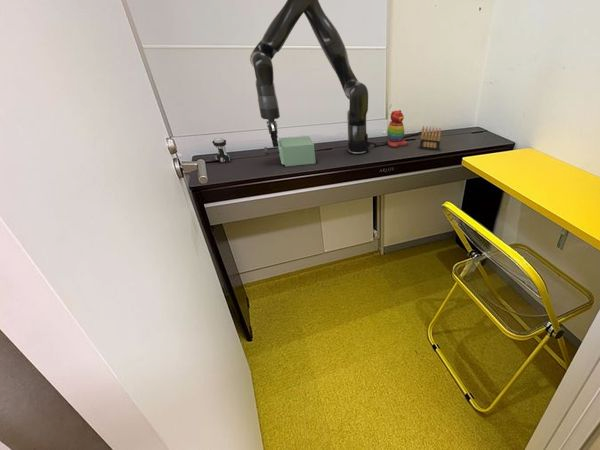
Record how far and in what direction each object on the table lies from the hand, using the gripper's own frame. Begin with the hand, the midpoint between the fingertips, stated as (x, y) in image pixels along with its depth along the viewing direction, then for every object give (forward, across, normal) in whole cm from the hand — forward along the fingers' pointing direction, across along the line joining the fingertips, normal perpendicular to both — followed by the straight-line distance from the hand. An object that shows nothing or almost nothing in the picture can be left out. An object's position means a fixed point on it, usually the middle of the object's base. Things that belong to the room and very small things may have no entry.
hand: (275, 146), depth 138 cm
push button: (+8, +8, +23) cm, 25 cm away
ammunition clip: (+8, -2, -78) cm, 79 cm away
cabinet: (+8, 0, -9) cm, 12 cm away
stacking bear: (+8, +10, -63) cm, 64 cm away
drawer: (+7, 0, -4) cm, 8 cm away
